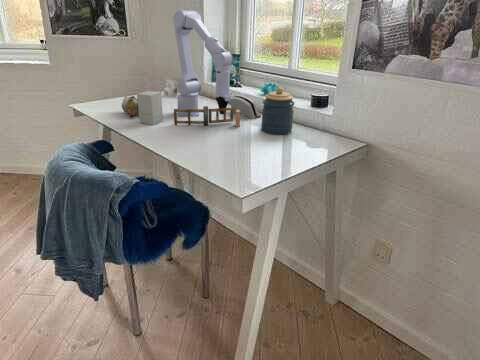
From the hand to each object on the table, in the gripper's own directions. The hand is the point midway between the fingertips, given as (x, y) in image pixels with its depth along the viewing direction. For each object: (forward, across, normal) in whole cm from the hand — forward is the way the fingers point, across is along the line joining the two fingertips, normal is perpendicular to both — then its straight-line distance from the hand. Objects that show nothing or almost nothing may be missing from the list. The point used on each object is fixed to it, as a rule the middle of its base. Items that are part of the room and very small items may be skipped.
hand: (222, 114), depth 154 cm
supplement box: (+4, +8, +30) cm, 31 cm away
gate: (+3, -2, +1) cm, 4 cm away
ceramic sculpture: (+4, +22, +35) cm, 42 cm away
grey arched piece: (+4, +11, -14) cm, 18 cm away
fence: (+4, 0, +15) cm, 15 cm away
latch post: (+4, -6, -5) cm, 9 cm away
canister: (+4, -16, -19) cm, 25 cm away
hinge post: (+4, -2, +8) cm, 9 cm away
